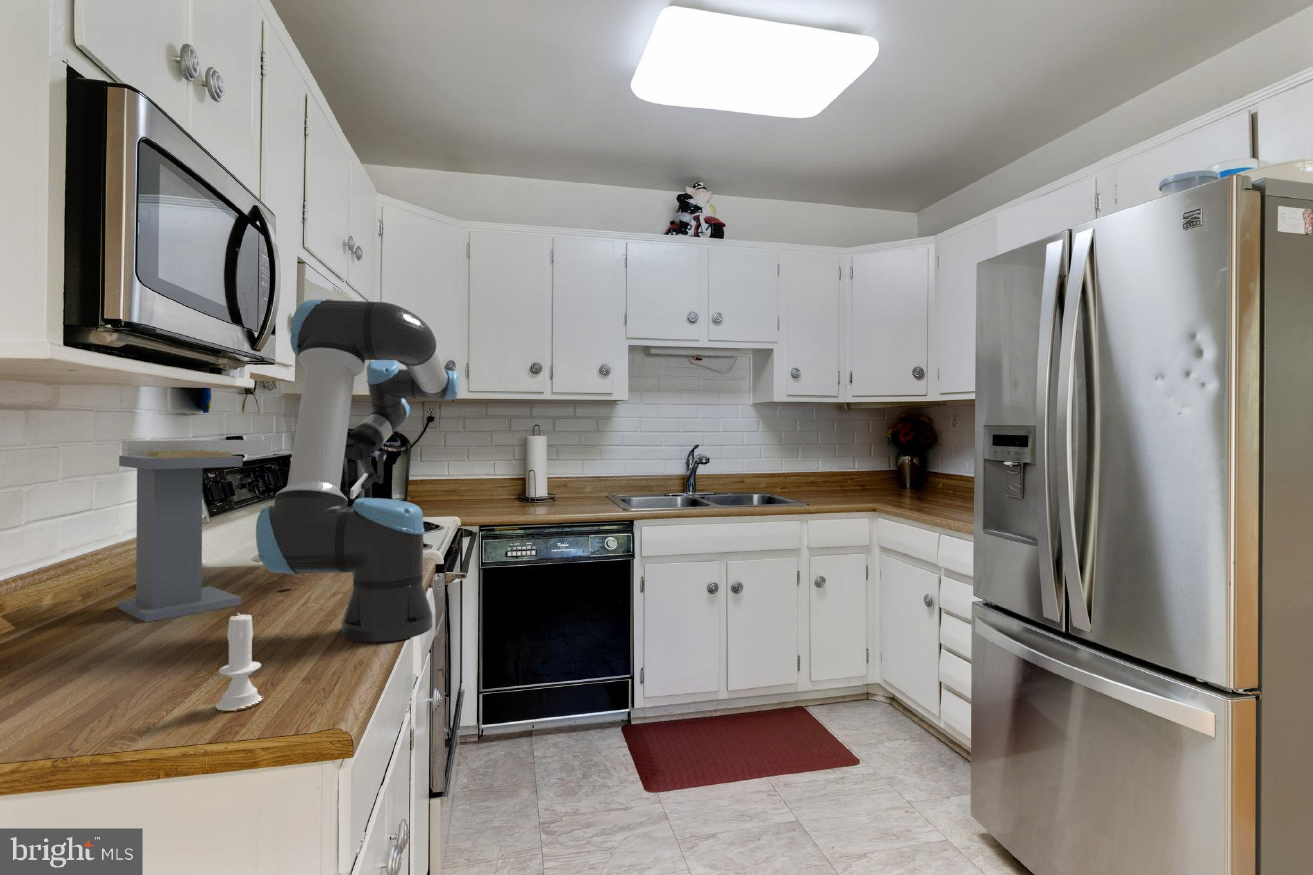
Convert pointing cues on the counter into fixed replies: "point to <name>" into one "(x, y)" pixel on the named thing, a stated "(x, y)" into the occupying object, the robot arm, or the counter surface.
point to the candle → (239, 665)
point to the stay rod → (195, 446)
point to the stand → (172, 538)
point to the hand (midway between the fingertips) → (322, 485)
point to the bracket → (188, 454)
